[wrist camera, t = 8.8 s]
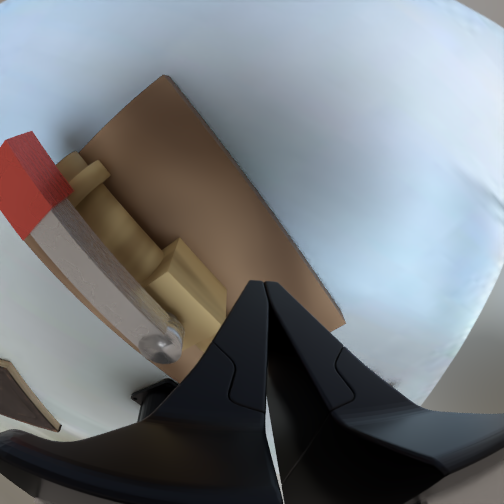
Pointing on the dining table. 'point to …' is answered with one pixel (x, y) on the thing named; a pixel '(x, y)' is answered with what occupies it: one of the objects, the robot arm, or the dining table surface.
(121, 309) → the lever
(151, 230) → the valve board
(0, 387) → the hardcover book
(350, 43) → the dining table surface
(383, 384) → the robot arm
